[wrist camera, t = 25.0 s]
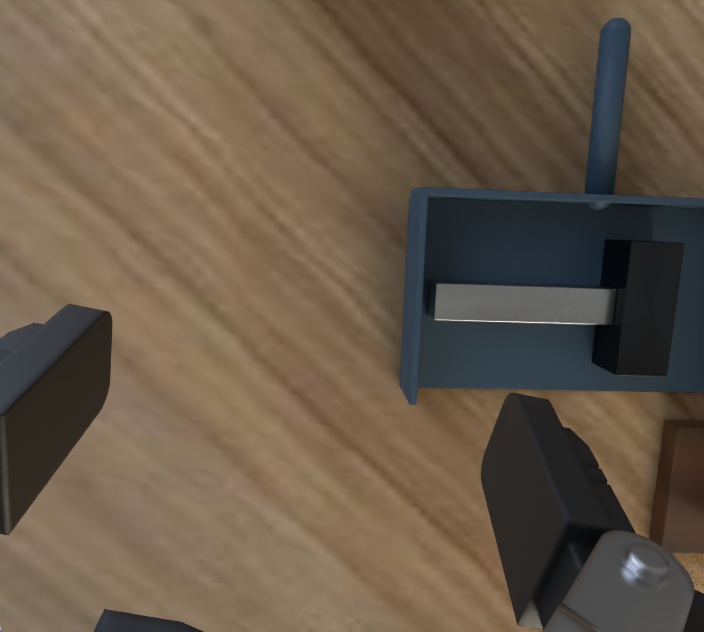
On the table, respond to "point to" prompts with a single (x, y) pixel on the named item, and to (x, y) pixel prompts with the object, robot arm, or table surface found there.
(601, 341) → the t-shaped mallet
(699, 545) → the stand
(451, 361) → the scoop
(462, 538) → the table surface
